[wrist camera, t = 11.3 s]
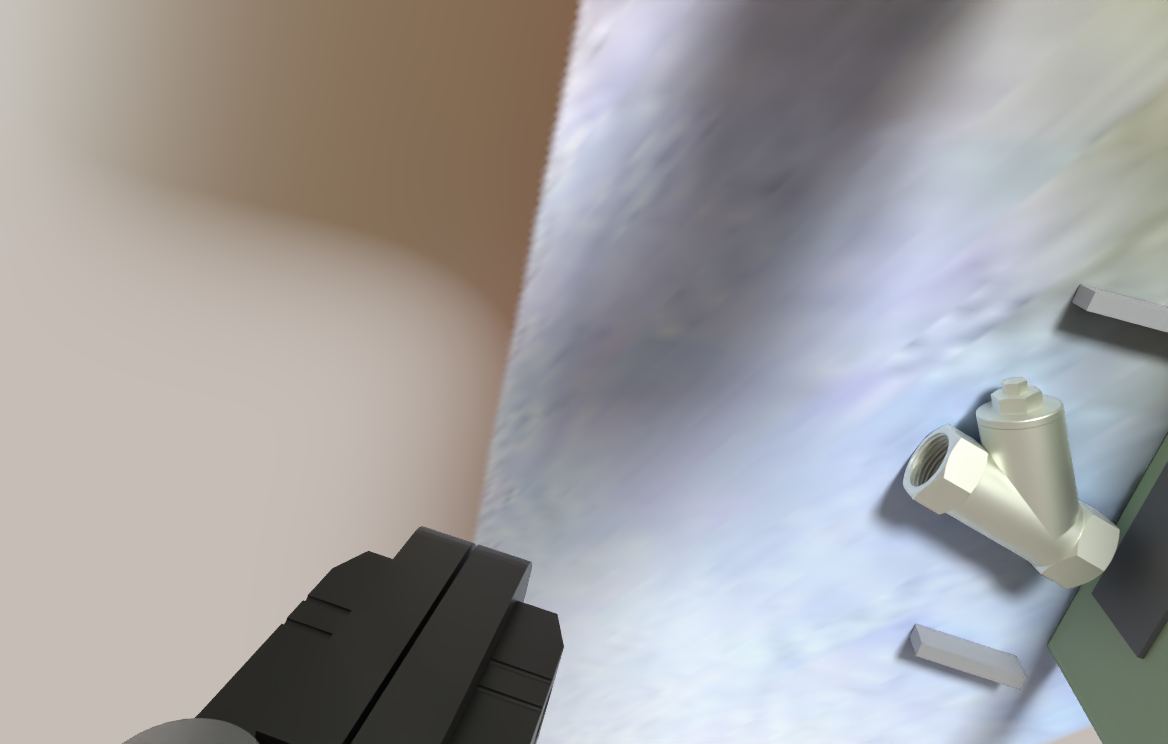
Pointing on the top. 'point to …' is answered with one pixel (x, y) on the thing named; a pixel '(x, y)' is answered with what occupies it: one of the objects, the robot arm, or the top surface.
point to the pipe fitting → (1016, 485)
